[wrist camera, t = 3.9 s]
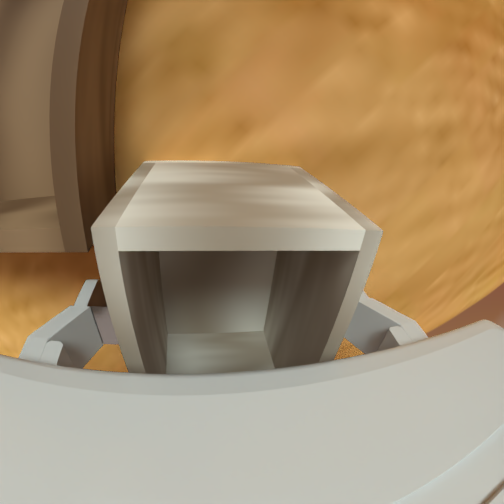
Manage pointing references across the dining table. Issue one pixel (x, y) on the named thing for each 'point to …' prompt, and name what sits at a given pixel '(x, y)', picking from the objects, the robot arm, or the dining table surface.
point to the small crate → (230, 267)
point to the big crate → (56, 120)
